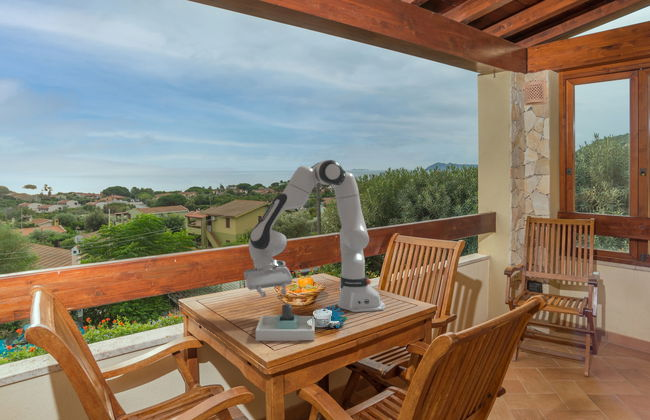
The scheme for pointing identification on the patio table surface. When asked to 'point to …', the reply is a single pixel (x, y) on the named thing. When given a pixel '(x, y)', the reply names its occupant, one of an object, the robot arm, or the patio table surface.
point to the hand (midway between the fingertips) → (274, 294)
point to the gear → (337, 316)
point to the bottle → (287, 312)
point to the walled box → (285, 328)
